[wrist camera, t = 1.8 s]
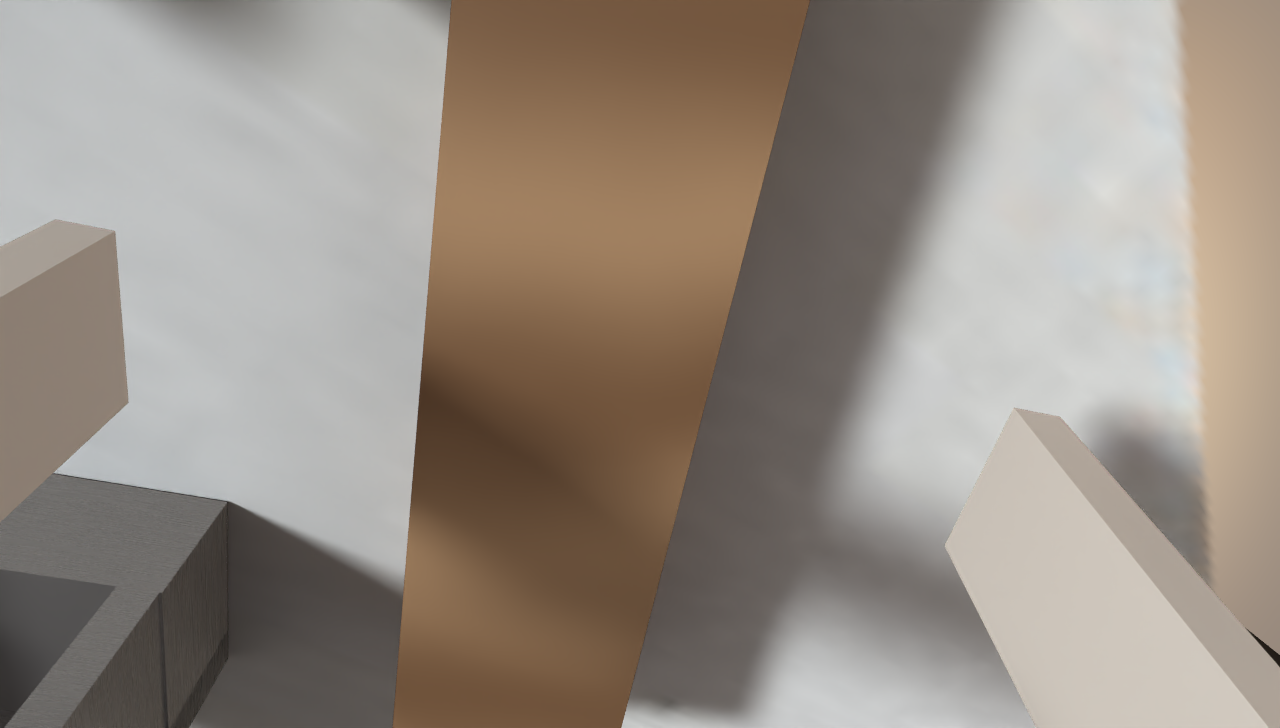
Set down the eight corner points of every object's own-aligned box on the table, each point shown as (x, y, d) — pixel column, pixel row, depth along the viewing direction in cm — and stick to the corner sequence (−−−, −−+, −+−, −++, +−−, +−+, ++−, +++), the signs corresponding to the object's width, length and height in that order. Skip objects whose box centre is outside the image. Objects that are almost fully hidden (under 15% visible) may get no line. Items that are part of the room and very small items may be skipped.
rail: (606, 642, 22) (602, 801, 18) (433, 620, 21) (388, 778, 17) (806, -220, 13) (885, -294, 9) (527, -287, 13) (483, -395, 9)
